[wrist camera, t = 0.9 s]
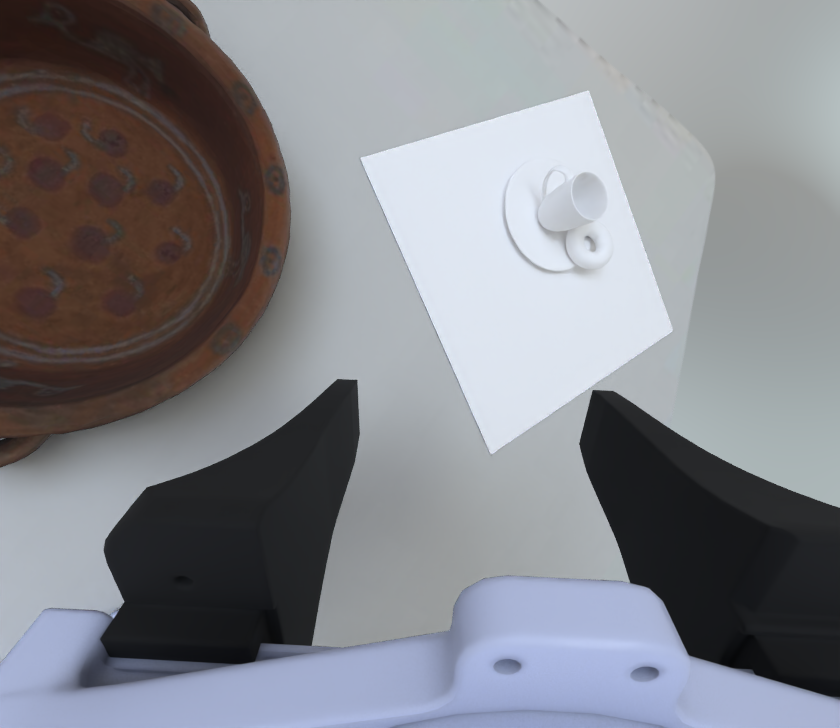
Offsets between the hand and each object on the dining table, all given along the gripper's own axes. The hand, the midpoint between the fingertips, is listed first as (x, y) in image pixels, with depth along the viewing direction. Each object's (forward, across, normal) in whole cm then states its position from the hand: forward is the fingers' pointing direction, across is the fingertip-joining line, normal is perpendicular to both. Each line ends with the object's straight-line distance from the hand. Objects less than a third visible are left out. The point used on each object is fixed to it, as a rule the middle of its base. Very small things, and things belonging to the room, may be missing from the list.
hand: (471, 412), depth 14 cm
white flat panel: (+20, -6, 0) cm, 21 cm away
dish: (+9, +18, -3) cm, 20 cm away
